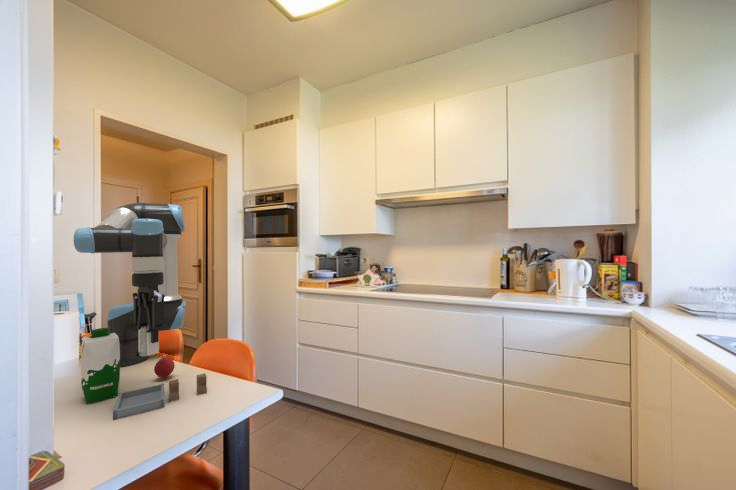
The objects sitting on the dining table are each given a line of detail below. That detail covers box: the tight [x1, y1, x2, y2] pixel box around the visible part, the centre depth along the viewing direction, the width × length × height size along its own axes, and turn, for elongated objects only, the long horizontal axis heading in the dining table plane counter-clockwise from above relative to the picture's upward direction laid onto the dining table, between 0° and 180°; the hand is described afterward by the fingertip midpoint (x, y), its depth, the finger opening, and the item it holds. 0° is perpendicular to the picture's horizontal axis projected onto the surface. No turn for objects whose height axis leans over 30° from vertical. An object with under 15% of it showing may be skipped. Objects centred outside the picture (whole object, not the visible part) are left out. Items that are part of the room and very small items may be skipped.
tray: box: [112, 383, 165, 421], centre depth 88 cm, size 13×11×2 cm
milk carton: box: [80, 327, 121, 405], centre depth 93 cm, size 9×9×20 cm
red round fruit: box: [153, 354, 176, 379], centre depth 106 cm, size 6×6×8 cm
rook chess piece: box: [139, 326, 154, 357], centre depth 89 cm, size 4×4×8 cm
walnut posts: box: [168, 373, 208, 403], centre depth 92 cm, size 3×10×5 cm, turn 123°
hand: (148, 352), depth 89 cm, fingers closed on rook chess piece, 4 cm apart
